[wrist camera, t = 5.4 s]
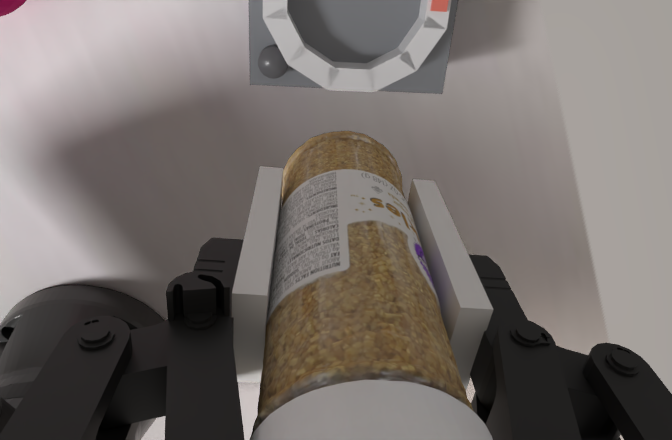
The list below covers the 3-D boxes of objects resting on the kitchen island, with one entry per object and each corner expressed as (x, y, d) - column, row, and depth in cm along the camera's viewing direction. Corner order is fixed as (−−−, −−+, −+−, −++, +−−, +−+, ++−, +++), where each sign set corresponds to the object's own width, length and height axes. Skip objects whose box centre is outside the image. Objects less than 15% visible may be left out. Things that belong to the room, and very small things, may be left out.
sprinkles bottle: (422, 193, 20) (580, 587, 8) (327, 253, 21) (345, 670, 9) (353, 99, 18) (431, 443, 6) (253, 172, 19) (159, 572, 7)
